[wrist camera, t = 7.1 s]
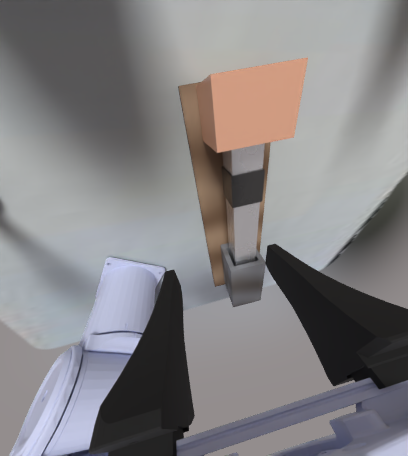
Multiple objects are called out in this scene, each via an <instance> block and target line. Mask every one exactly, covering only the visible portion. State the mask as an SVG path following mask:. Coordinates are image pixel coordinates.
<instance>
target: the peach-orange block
mask: <svg viewBox="0 0 408 456" xmlns="http://www.w3.org/2000/svg"><path fill="white" fill-rule="evenodd" d="M307 60H308V58H302V59H297V60H291V61H285V62H279V63H273V64H268V65H262V66H256V67H250V68H245V69H239V70H233V71H227V72H222V73H216V74H210V75H209V76H208V77H207V78H206V79H204V80H203V81H202V82H201V83H200V84H198V85H197V86H196V91H197V99H198V106H199V114H200V121H201V129H202V136H203V141H204V142H205V143H206V144H207V145H208V146H210V147H211V148H212V149H213V150H214V151H216V152H217V153H220V152H225V151H229V150H234V149H239V148H244V147H249V146H254V145H259V144H264V143H269V142H273V141H278V140H283V139H288V138H293V137H294V134H295V128H296V122H297V117H298V111H299V106H300V100H301V94H302V89H303V83H304V77H305V72H306V66H307Z"/></svg>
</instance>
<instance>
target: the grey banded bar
mask: <svg viewBox="0 0 408 456" xmlns="http://www.w3.org/2000/svg"><path fill="white" fill-rule="evenodd" d="M264 146H265V143H264V144H259V145H254V146H249V147H244V148H239V149H234V150H229V151H225V152H222V153H223V166H222V180H223V193H224V196H225V198H226V211H227V226H228V240H229V255H230V258H231V260H232V263H233V265H234V266H238V265H242V264H246V263H250V262H254V261H255V258H256V246H257V233H258V221H259V208H260V202H262V200H263V189H264V177H265V169H264V168H263V158H264Z"/></svg>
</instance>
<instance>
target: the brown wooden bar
mask: <svg viewBox="0 0 408 456" xmlns="http://www.w3.org/2000/svg"><path fill="white" fill-rule="evenodd" d="M200 83H201V82H199V83H193V84H188V85H182V86H179V87H178V88H179V93H180V99H181V104H182V110H183V115H184V120H185V126H186V131H187V137H188V142H189V148H190V153H191V159H192V164H193V170H194V175H195V180H196V186H197V191H198V197H199V202H200V208H201V213H202V219H203V224H204V230H205V235H206V240H207V246H208V251H209V257H210V262H211V268H212V273H213V279H214V284H215V287H216V286H219V285H223V284H226V287H227V290H228V293H229V296H230V299H231V302H232V305H233V307H236V306H240V305H243V304H247V303H251V302H255V301H259V300H260V299H261V292H262V285H263V278H264V271H265V261H264V259H263V258H262V256H261V255H260V243H261V233H262V223H263V213H264V203H265V193H266V183H267V173H268V162H269V152H270V142H269V143H265V146H264V158H263V168H264V169H265V177H264V189H263V200H262V202H260V208H259V221H258V233H257V246H256V258H255V261H254V262H250V263H246V264H242V265H238V266H234V265H233V263H232V260H231V258H230V255H229V240H228V226H227V211H226V198H225V196H224V193H223V180H222V166H223V153H222V152H220V153H217V152H216V151H214V150H213V149H212V148H211V147H210V146H208V145H207V144H206V143H205V142H204V141H203V136H202V129H201V121H200V114H199V106H198V99H197V91H196V86H197V85H198V84H200Z"/></svg>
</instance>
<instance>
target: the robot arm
mask: <svg viewBox="0 0 408 456" xmlns="http://www.w3.org/2000/svg"><path fill="white" fill-rule="evenodd" d="M265 264H266V266H267V268H268V270H269V272H270V274H271V275H272V277H273V279H274V280H275V281H276V283H277V284H278V286H279V287H280V289H281V290H282V292H283V293H284V294H285V296H286V298H287V299H288V301H289V302H290V304H291V305H292V307H293V309H294V310H295V312H296V314H297V316H298V318H299V319H300V321H301V323H302V325H303V327H304V329H305V331H306V333H307V334H308V337H309V339H310V341H311V342H312V345H313V347H314V349H315V351H316V353H317V355H318V357H319V359H320V361H321V364H322V365H323V368H324V370H325V372H326V375H327V377H328V379H329V380H330V382H331V383H332V385H333V386H336V385H339V384H343V383H345V382H349V381H352V380H355V383H351V384H348V385H346V386H342V387H339V388H337V389H333V390H330V391H327V392H324V393H321V394H318V395H315V396H312V397H309V398H306V399H303V400H299V401H297V402H294V403H291V404H287V405H284V406H281V407H278V408H275V409H273V410H269V411H266V412H263V413H260V414H257V415H254V416H251V417H248V418H244V419H241V420H238V421H235V422H232V423H229V424H226V425H223V426H220V427H217V428H214V429H211V430H208V431H205V432H202V433H199V434H196V435H192V436H190V437H187V438H184V436H183V432H187V431H189V425H191V423H192V421H193V418H194V409H193V403H192V396H191V389H190V382H189V375H188V367H187V360H186V351H185V343H184V330H183V329H184V328H183V299H182V291H181V285H180V283H179V280H178V278H177V276H176V273H175V271H174V270H170V271H166V272H165V268H164V267H160V266H154V265H149V264H144V263H139V262H134V261H128V260H123V259H118V258H113V257H108V258H107V259H106V261H105V265H104V268H103V272H102V275H101V279H100V282H99V286H98V289H97V293H96V296H95V298H96V301H95V303H94V306H93V309H92V311H91V314H90V317H89V319H88V322H87V325H86V327H85V330H84V333H83V335H82V338H81V341H80V344H79V345H78V346H75V345H74V346H72V347H70V348H69V349H68V350H67V351H65V352H64V353H62V354H61V355H60V356H59V357H58V358H57V360H56V361H55V363H54V364H53V366H52V367H51V369H50V371H49V372H48V374H47V376H46V377H45V379H44V381H43V383H42V385H41V387H40V389H39V391H38V392H37V395H36V396H35V398H34V401H33V403H32V405H31V407H30V409H29V411H28V414H27V416H26V418H25V421H24V423H23V426H22V428H21V431H20V434H19V437H18V439H17V441H16V443H15V445H14V447H13V449H12V451H11V453H10V455H9V456H204V455H205V454H208V453H211V452H214V451H217V450H219V449H223V448H226V447H229V446H232V445H234V444H238V443H240V442H244V441H246V440H249V439H252V438H255V437H258V436H261V435H264V434H267V433H270V432H273V431H276V430H279V429H282V428H285V427H288V426H291V425H294V424H297V423H300V422H303V421H306V420H309V419H312V418H315V417H317V416H320V415H323V414H326V413H329V412H333V411H335V410H338V409H341V408H344V407H347V406H350V405H353V404H356V403H357V404H356V412H354V413H350V414H346V415H343V416H340V417H338V418H335V419H333V420H330V425H331V426H332V428H333V430H334V432H335V434H332V435H329V436H326V437H322V438H319V439H316V440H312V441H309V442H306V443H303V444H299V445H296V446H293V447H290V448H287V449H284V450H281V451H278V452H275V453H273V454H270V455H267V456H408V309H406V308H403V307H400V306H397V305H394V304H391V303H388V302H385V301H383V300H380V299H378V298H375V297H372V296H370V295H367V294H365V293H362V292H360V291H358V290H355V289H353V288H351V287H349V286H346V285H344V284H342V283H340V282H338V281H336V280H334V279H332V278H330V277H328V276H326V275H324V274H322V273H320V272H319V271H317V270H315V269H314V268H312V267H310V266H308V265H307V264H305V263H304V262H302V261H300V260H299V259H297V258H296V257H294V256H293V255H291V254H290V253H288V252H287V251H285V250H284V249H282V248H281V247H279V246H278V245H276V244H273V245H269V246H268V247H267V255H266V262H265ZM164 272H165V274H164ZM163 274H164V278H163V282H162V286H161V289H160V292H159V295H158V298H157V301H156V304H155V306H154V300H155V288H156V286H157V284H158V283H159V281H160V279H161V277H162V276H163ZM226 456H238V453H232V454H229V455H226Z"/></svg>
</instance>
